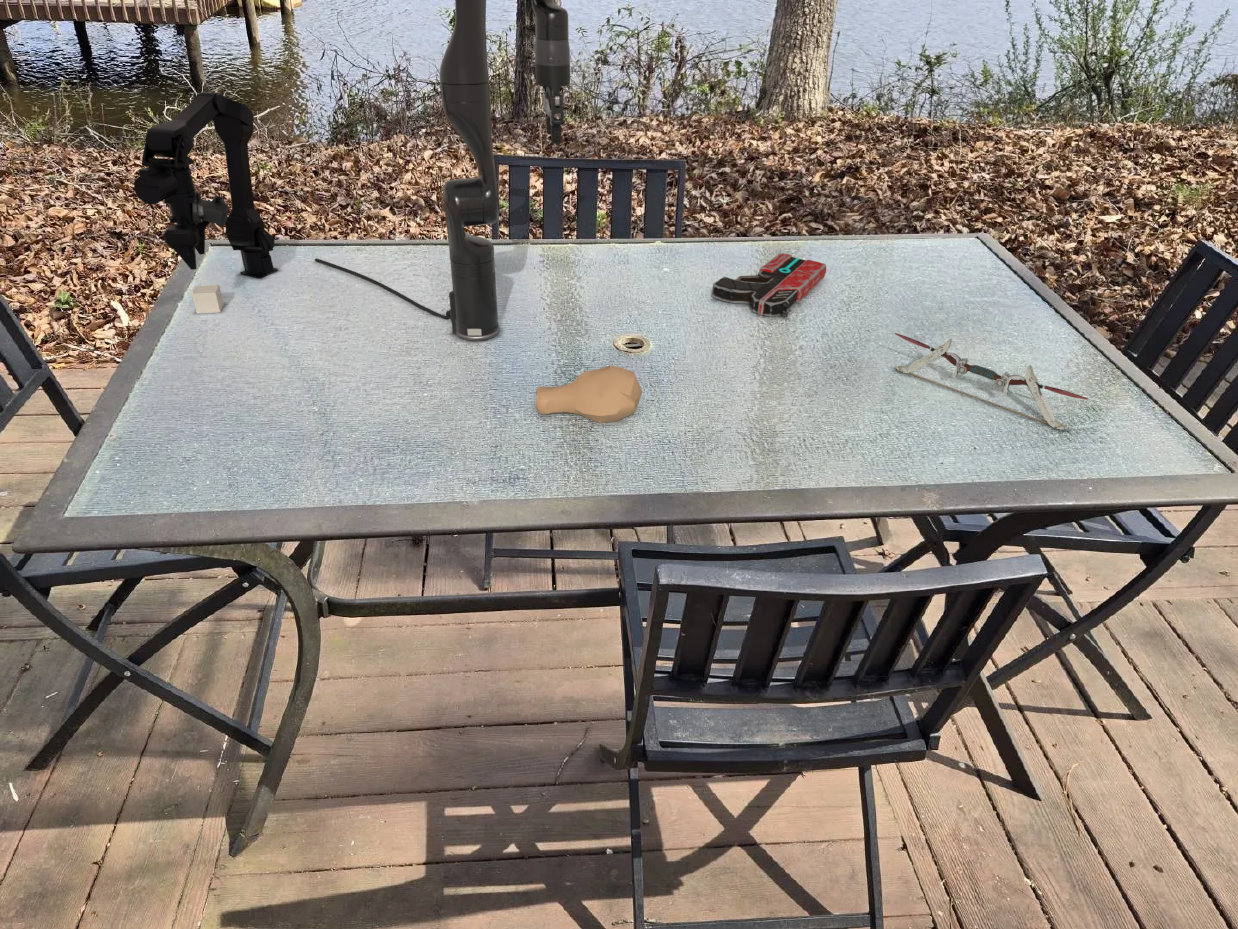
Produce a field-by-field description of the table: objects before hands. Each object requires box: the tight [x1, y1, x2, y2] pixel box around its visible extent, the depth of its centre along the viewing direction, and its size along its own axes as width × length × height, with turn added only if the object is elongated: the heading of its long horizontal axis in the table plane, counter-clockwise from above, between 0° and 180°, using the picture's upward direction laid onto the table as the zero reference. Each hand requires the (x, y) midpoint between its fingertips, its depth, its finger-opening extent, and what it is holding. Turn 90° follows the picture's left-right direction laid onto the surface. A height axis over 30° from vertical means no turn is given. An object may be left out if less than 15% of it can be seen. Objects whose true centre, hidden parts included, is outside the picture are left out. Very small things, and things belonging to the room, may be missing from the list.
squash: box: [534, 364, 643, 424], centre depth 162 cm, size 11×20×9 cm, turn 90°
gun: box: [711, 252, 827, 318], centre depth 215 cm, size 4×31×19 cm
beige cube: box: [191, 284, 225, 314], centre depth 198 cm, size 5×5×5 cm
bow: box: [894, 332, 1090, 431], centre depth 170 cm, size 39×2×10 cm, turn 47°
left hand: (198, 261), depth 193 cm, fingers open, 9 cm apart
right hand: (553, 138), depth 199 cm, fingers open, 8 cm apart
